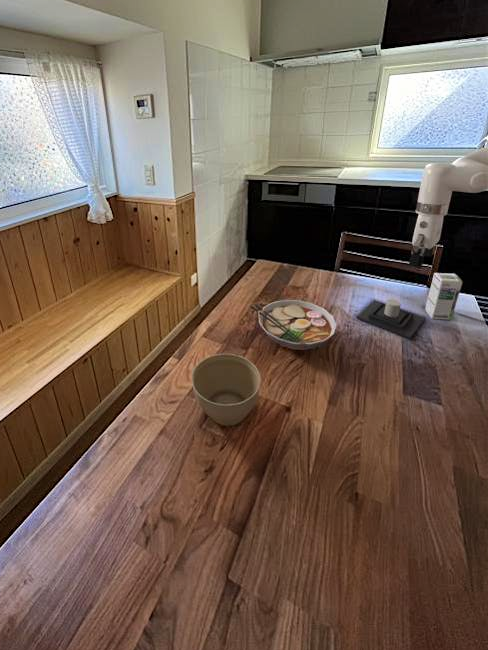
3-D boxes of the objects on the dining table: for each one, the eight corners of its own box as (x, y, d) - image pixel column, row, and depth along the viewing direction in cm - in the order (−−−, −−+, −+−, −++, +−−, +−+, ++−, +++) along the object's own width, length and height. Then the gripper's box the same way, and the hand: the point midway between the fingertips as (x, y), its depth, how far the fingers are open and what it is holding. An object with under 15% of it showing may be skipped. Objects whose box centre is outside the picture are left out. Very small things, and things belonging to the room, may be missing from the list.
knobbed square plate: (406, 316, 111) (409, 301, 108) (398, 326, 107) (401, 310, 104) (383, 308, 116) (386, 294, 113) (375, 317, 111) (377, 302, 109)
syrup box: (431, 319, 110) (442, 280, 104) (424, 309, 115) (434, 271, 109) (451, 320, 109) (463, 281, 103) (443, 310, 114) (454, 272, 108)
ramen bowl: (353, 349, 100) (357, 327, 96) (293, 378, 91) (295, 354, 88) (295, 309, 120) (296, 289, 117) (241, 329, 112) (241, 308, 109)
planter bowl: (210, 377, 93) (208, 346, 89) (267, 397, 86) (269, 364, 81) (182, 423, 81) (178, 389, 76) (246, 450, 73) (247, 415, 69)
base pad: (425, 320, 110) (426, 314, 109) (409, 340, 102) (411, 334, 101) (373, 302, 121) (374, 297, 120) (356, 318, 113) (357, 313, 112)
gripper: (438, 217, 89) (425, 274, 96) (455, 202, 99) (443, 254, 106) (406, 213, 94) (396, 267, 101) (426, 199, 105) (415, 249, 112)
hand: (420, 261), depth 104 cm, fingers open, 9 cm apart
